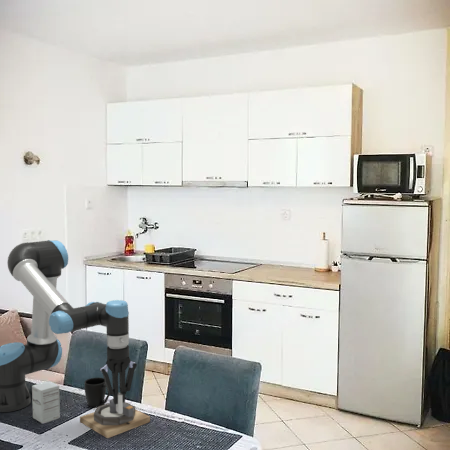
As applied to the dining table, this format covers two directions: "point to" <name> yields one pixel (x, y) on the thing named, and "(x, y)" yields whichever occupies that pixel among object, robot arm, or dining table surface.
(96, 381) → the mug
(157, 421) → the dining table surface
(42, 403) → the supplement box
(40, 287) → the robot arm
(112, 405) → the dial
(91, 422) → the dial board
